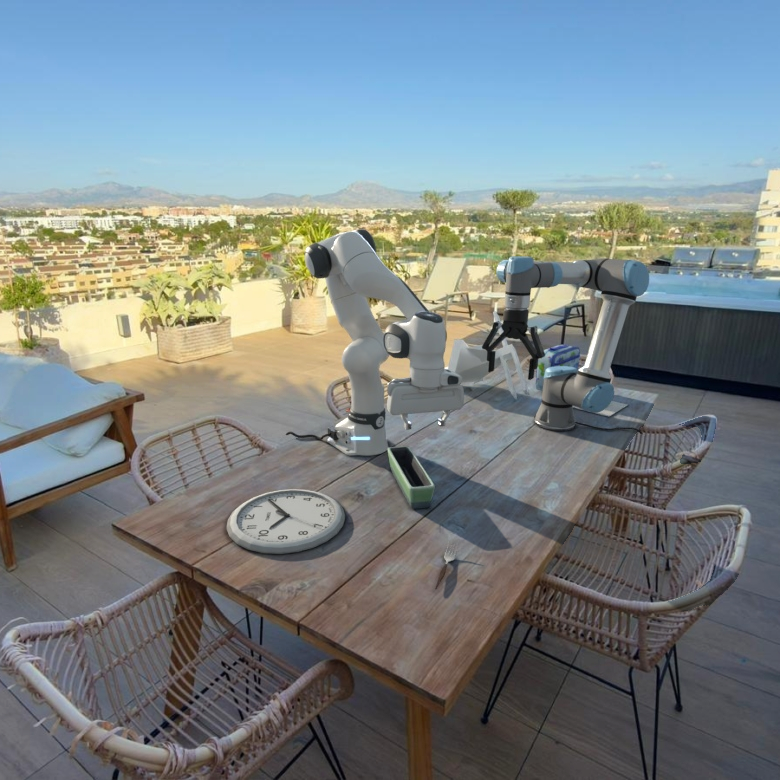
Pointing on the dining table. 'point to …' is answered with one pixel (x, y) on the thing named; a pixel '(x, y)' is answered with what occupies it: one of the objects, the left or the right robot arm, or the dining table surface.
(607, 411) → the invitation card
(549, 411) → the right robot arm
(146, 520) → the dining table surface
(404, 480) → the planter
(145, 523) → the dining table surface
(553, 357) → the lunch box
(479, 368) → the white plastic object
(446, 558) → the fork
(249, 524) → the wall clock
